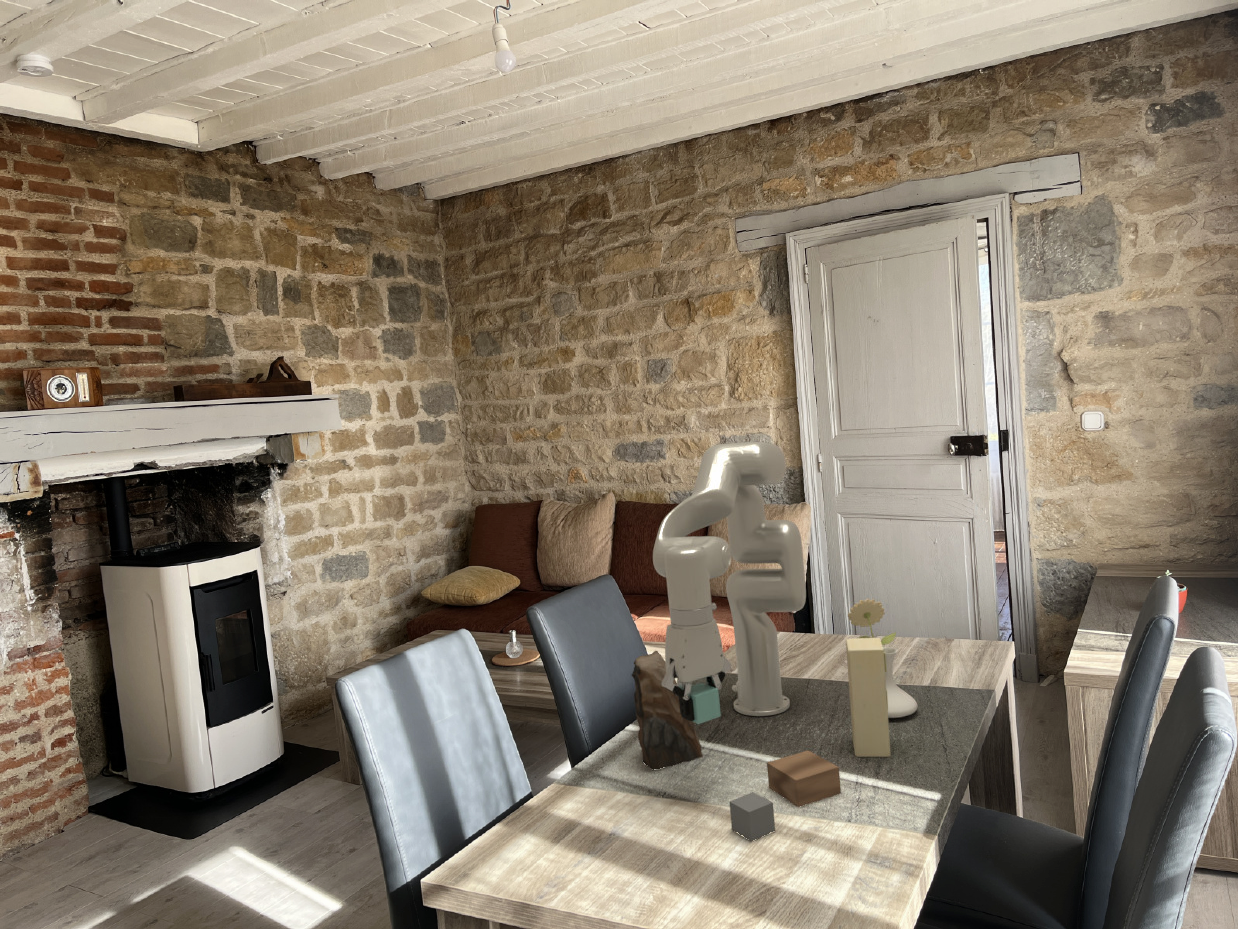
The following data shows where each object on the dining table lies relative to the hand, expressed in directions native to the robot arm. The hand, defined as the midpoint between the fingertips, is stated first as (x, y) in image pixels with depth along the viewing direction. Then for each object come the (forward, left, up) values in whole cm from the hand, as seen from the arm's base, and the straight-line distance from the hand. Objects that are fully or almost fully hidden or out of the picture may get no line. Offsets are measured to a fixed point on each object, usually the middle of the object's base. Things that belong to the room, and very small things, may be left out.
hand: (700, 713), depth 156 cm
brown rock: (-19, +5, -15) cm, 25 cm away
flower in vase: (-5, +52, -15) cm, 54 cm away
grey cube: (+15, -2, -15) cm, 22 cm away
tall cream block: (+6, +36, -15) cm, 39 cm away
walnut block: (+10, +14, -15) cm, 23 cm away
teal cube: (0, 0, -1) cm, 1 cm away
